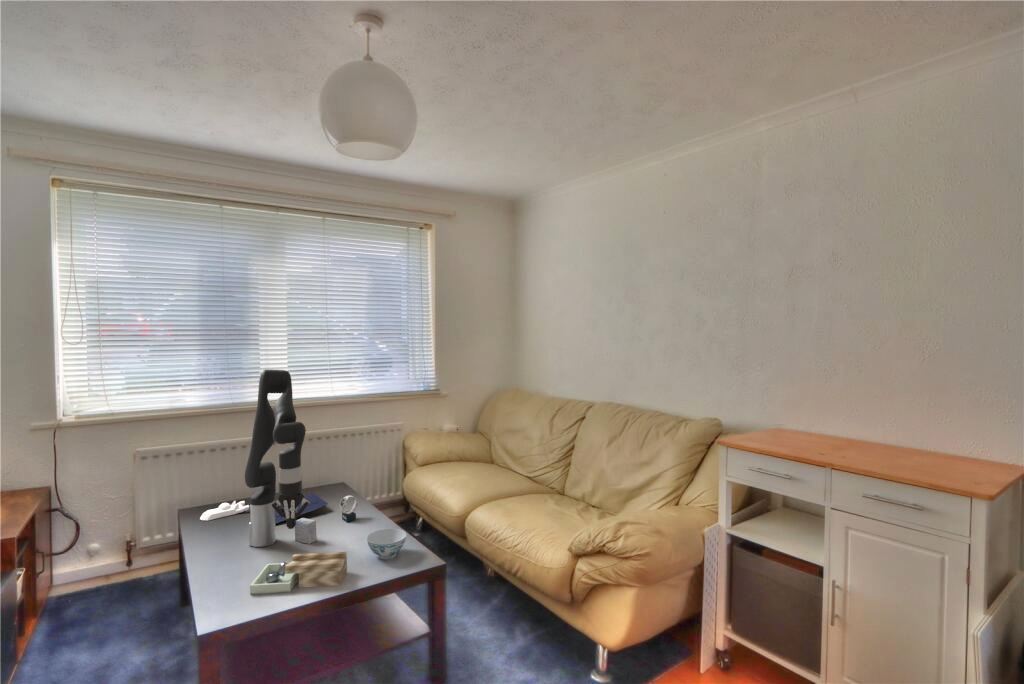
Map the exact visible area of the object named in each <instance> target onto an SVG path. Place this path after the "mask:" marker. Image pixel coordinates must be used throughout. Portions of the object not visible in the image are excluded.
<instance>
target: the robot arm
mask: <svg viewBox="0 0 1024 684" xmlns="http://www.w3.org/2000/svg"><path fill="white" fill-rule="evenodd" d="M257 391H258V394H257V403H256V404H257V405H256V412H255V418H254V422H253V428H252V435H251V436H252V438H251V445H250V451H249V455H248V458H247V462H246V467H245V471H244V482H245V485H246V486H247V487H248V488H250V489H254V488H260V487H261V488H260V489H258V490H257V491H256V492H255V493H253V494H251V496H250V498H249V503H250V505H249V510H250V521H249V523H248V541H249V543H248V544H249V545H248V546H249V547H254V548H263V547H264V548H265V547H269V546H271V545H273V544H275V542H276V541H277V540H276V539H277V538H276V537H277V535H276V524H275V510H276V511H277V513H278V514H279V515H280V516H281V517H285V518H286V520H285V522H286V527H287V529H288V530H293V529H295V526H296V520H297V518H299V517H300V516H301V515H302V514H301V513H302V512H303V511H304V509H305V508H306V507H307V505H308V504H309V503H310V501H309V500H306V499H304V496H305V495H304V494H303V474H302V473H303V469H302V461H301V459H302V448H303V444H304V440H305V437H306V432H307V431H306V425H305V424H304V423H303V422H302V421H297V415H296V411H295V407H294V402H293V383H292V376H291V374H290V372H289V371H288V370H284V369H263V370H262V371H261V372H260V376H259V381H258V390H257ZM269 394H281V395H280V397H279V398H278V399H277V400H276V401H275V403H274V405H273V407H272V406H271V404H270V401H269V399H268V397H269V396H268V395H269ZM274 443H276V444H278V445H283V444H284V445H285V444H292V443H293V444H292V446H291V447H288V448H286V449H283V450H281V451H280V452H279V454H278V497H277V500H275V499H276V498H275V497H276V492H277V491H276V489H277V485H276V484H277V473H276V472H277V471H276V467H275V464H274V463H273V462H271V461H266V462H265V461H263V462H262V460H263V458H264V456H265V455H266V454H267V453H268V451H269V450H270V449H271V447H272V446H274ZM301 501H302V507H301V509H300V510H299V511H298V512H297V507H298V506H299V504H300V503H301ZM280 503H281V505H282V506H283V507H284V509H285V510H284V509H283V508H282V507H281V506H280ZM300 514H301V515H300Z"/></svg>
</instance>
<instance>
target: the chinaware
mask: <svg viewBox="0 0 1024 684" xmlns="http://www.w3.org/2000/svg"><path fill="white" fill-rule="evenodd" d="M406 538H407V533H406V531H405V530H403V529H399V528H383V529H378V530H375V531H373V532H371V533H370V534H368V535H367V536H366V542H367V545H368V547H369V549H370V550H371V552H372V553H374V554H375V555H376V556H377V557H378V558H379V559H381V560H390V559H393V558H394V557H396V556H397V553H399V552H400V551H401V550H402V548H403V547H404V545H405V542H406Z"/></svg>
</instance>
